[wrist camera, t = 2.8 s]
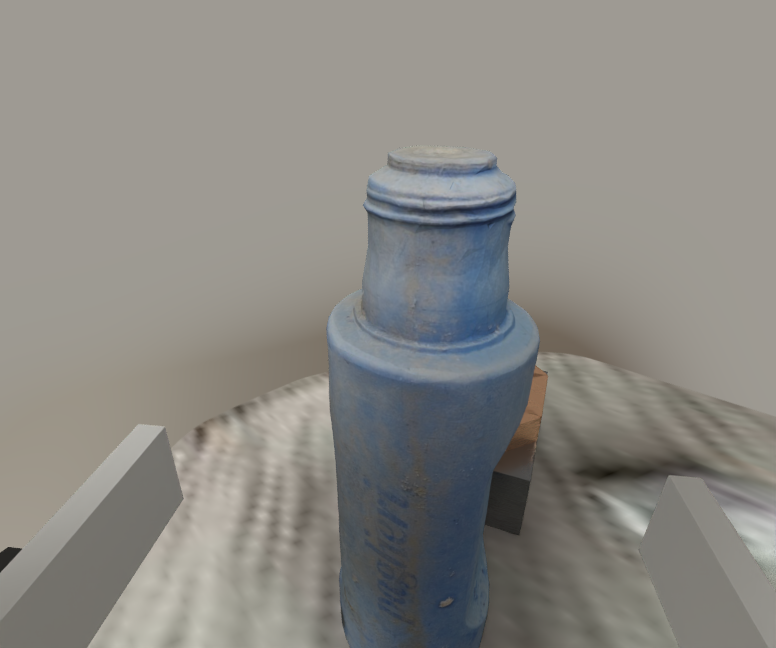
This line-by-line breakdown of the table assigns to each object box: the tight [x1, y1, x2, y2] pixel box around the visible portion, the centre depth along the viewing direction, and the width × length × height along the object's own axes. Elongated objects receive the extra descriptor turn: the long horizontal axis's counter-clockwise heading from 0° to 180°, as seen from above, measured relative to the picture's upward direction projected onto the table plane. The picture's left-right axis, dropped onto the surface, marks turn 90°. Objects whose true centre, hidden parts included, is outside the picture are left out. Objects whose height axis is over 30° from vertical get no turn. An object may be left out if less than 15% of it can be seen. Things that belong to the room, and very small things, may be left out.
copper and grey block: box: [485, 365, 548, 535], centre depth 44 cm, size 16×16×8 cm
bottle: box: [327, 146, 540, 648], centre depth 25 cm, size 10×10×30 cm
